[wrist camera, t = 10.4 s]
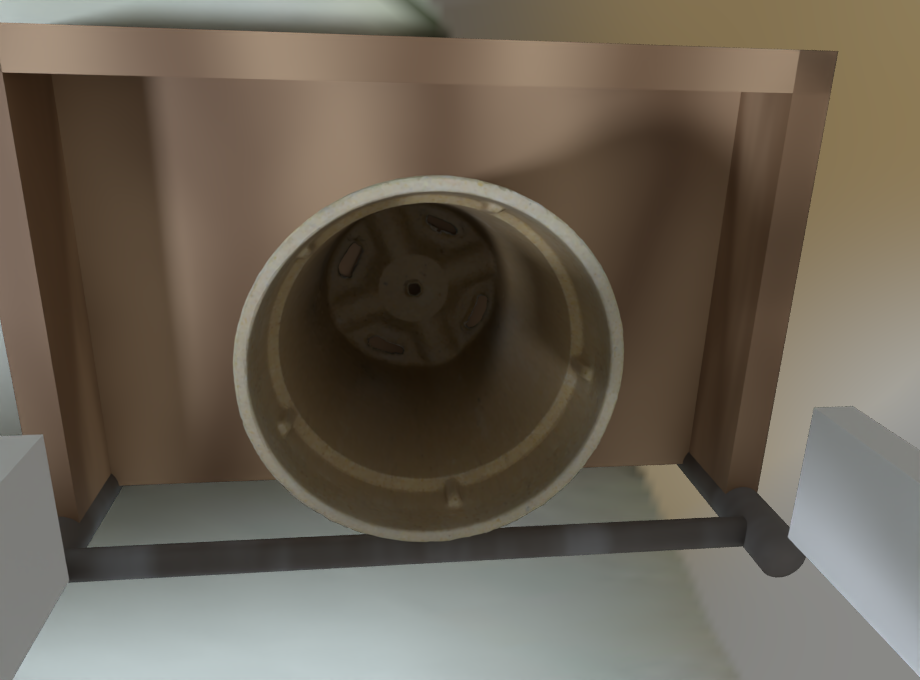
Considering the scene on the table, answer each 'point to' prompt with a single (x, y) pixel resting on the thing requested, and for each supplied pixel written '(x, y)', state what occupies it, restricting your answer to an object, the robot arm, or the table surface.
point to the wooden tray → (327, 180)
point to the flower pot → (429, 359)
